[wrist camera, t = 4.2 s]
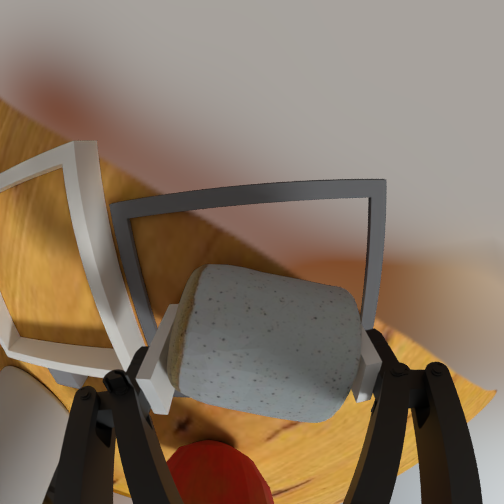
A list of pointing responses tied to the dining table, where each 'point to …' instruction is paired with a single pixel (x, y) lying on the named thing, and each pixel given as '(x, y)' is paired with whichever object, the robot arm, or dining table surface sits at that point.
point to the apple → (217, 475)
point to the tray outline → (252, 195)
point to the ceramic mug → (264, 343)
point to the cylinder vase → (28, 437)
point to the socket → (95, 265)
